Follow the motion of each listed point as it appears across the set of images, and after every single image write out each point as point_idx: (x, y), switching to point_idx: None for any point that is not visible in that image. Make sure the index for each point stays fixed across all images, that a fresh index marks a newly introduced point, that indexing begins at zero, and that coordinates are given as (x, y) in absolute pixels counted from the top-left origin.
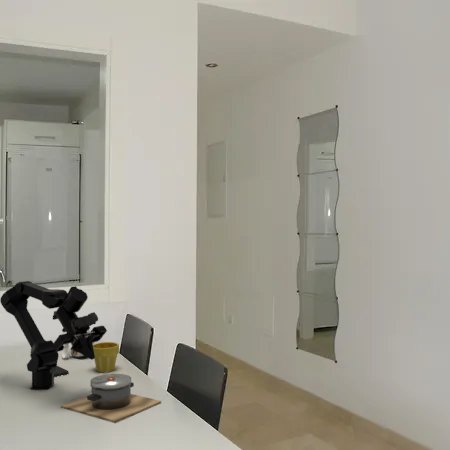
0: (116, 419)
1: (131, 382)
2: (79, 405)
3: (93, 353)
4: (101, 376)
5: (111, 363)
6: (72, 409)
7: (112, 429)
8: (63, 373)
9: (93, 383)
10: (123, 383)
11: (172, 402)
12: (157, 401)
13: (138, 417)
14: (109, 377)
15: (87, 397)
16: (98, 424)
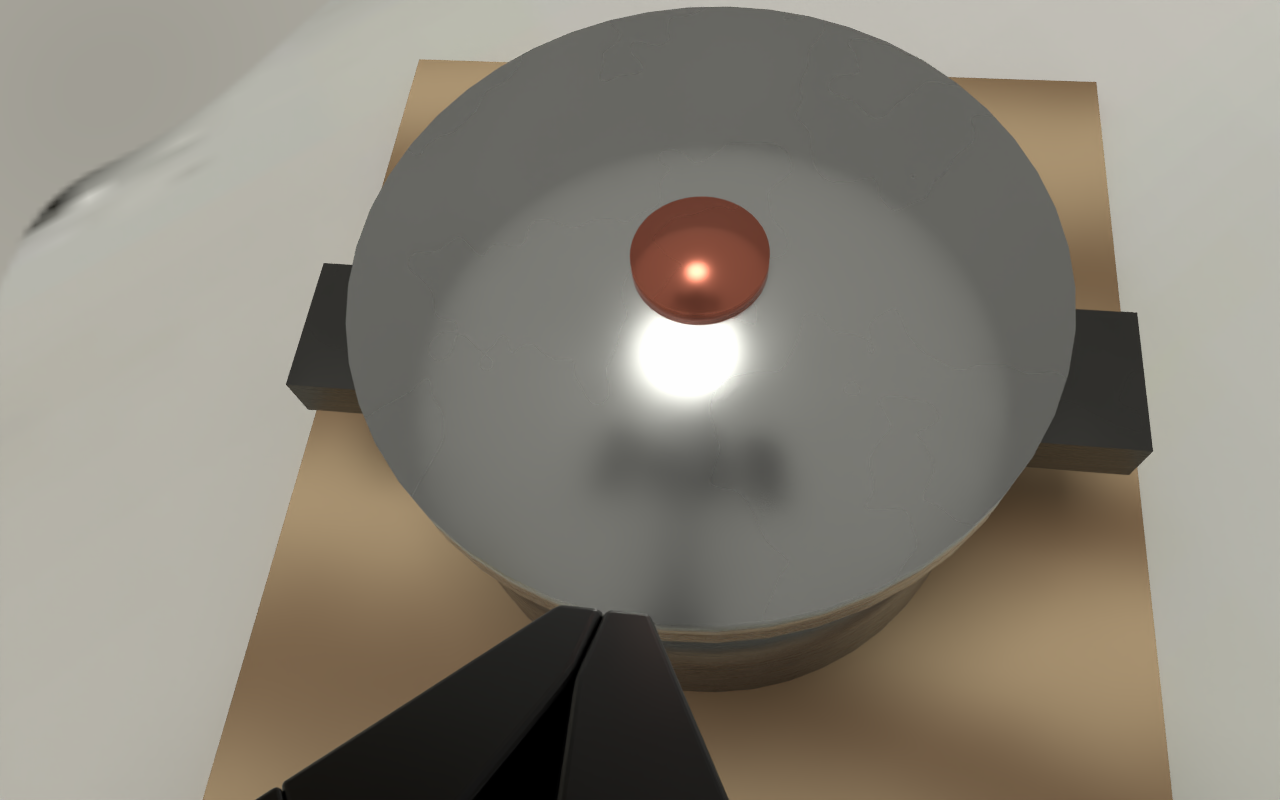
0: (1064, 93)
1: (321, 293)
2: (1011, 771)
3: (517, 660)
4: (628, 532)
5: None
6: (1164, 769)
7: (1216, 32)
8: None
9: (1053, 365)
10: (768, 11)
11: (375, 11)
12: (445, 78)
13: (852, 27)
14: (675, 301)
15: (1139, 454)
16: (1228, 196)
